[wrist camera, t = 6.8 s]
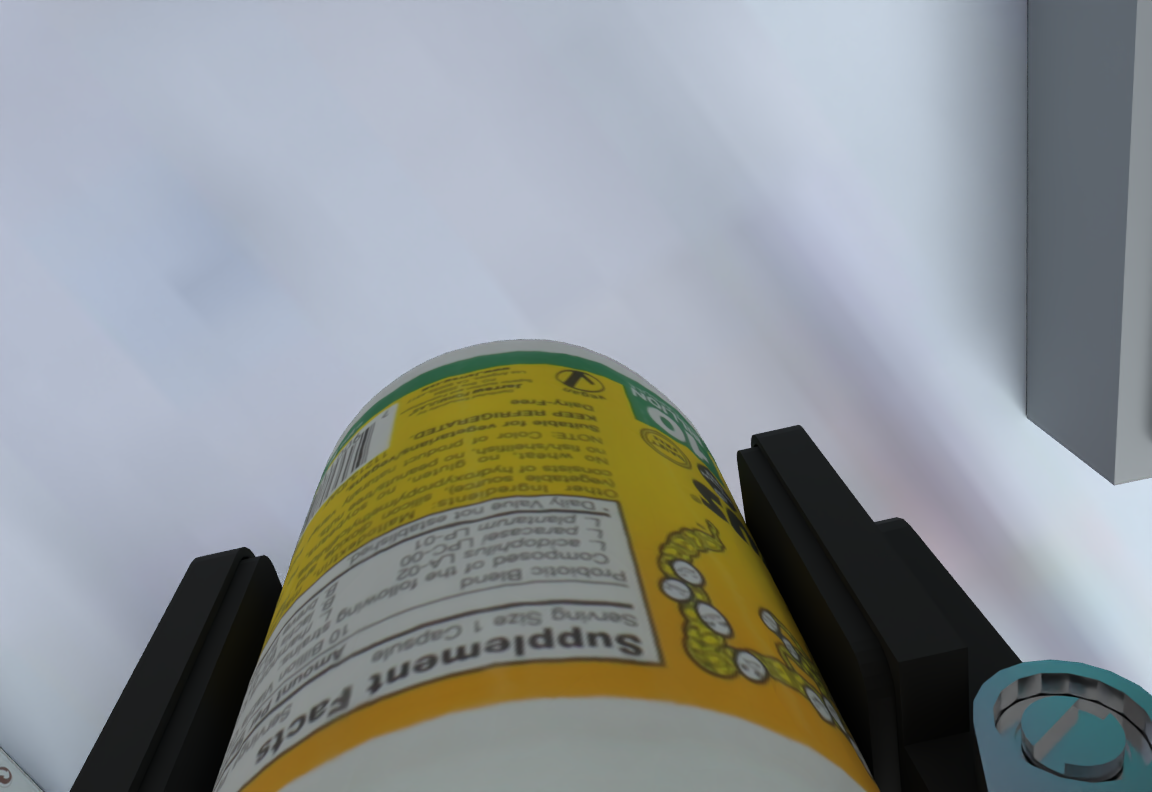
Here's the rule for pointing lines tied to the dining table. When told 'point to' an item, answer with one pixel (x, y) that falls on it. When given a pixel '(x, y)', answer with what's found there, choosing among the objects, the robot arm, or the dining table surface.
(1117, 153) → the plinth
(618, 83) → the dining table surface
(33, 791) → the supplement box
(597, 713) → the supplement bottle
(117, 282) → the dining table surface
